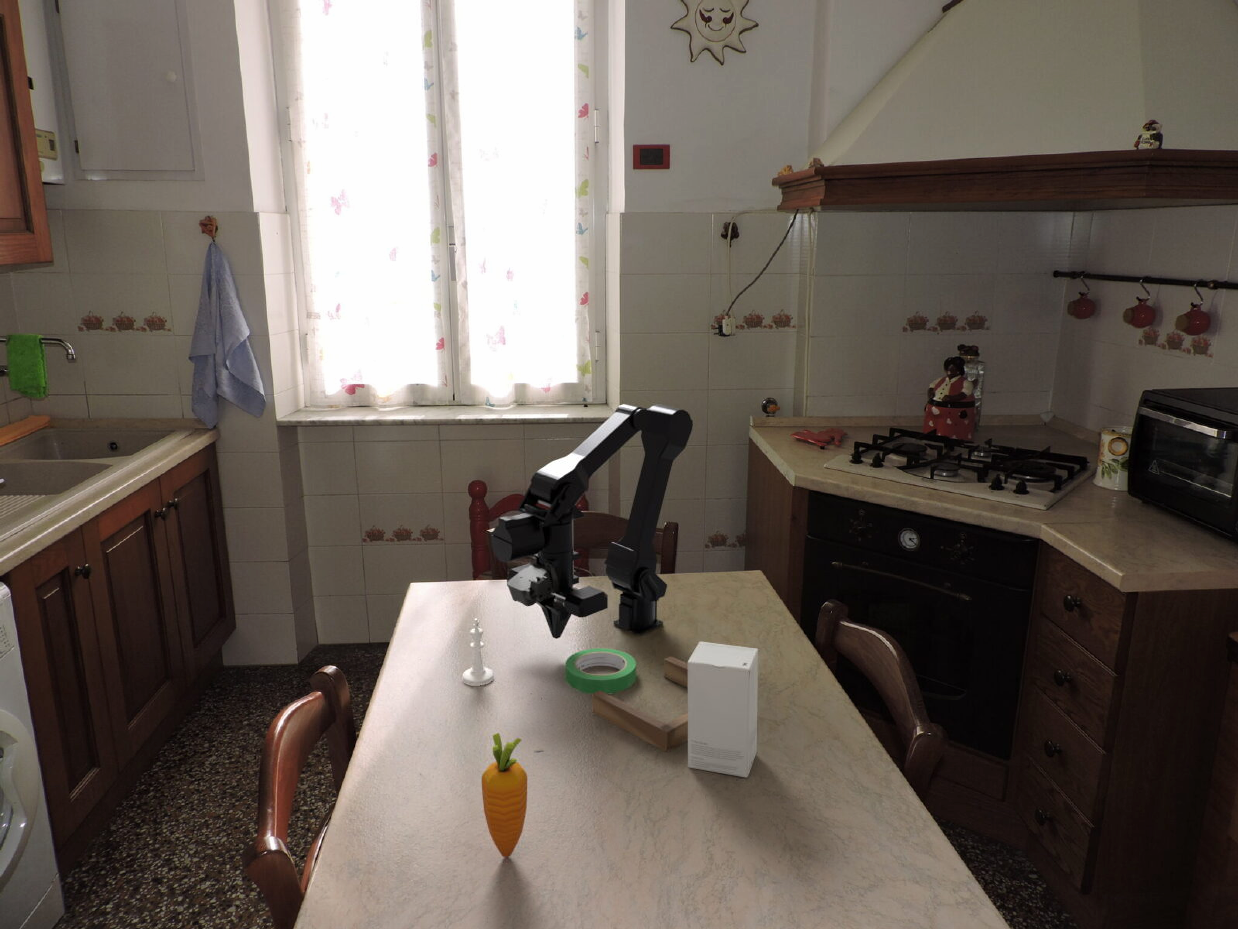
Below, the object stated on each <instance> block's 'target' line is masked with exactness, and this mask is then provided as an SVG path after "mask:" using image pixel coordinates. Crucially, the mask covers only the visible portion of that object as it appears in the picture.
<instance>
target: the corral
mask: <svg viewBox="0 0 1238 929" xmlns="http://www.w3.org/2000/svg"><path fill="white" fill-rule="evenodd" d="M663 677H664V678H666V679H668V680H670V681H671V682H675V683H676V684H678V685H681V686H683V687H685V688H687V689H688V662H684V661H682V660H680V659H678V658H675V657H673V656H668V657H667V658H664V660H663ZM591 695H592V696H591V700H592V701H591V703H592V704H591V705H592V710H591V712H592V714H594V715H596V716H598V717H600V718H602V719H604V720H605V721H607V722H609V723H611V724H613V725H614V726H616V727H619V728H621V729H622V730H624V731H626V732H628V733H629V734H632V735H634V736H635V737H637V738H639V739H641V740H643V741H645V742H647V743H649V744H651V745H653V746H654V747H656V748H658V749H659V750H662V751H664V752H665V753H668V752H671V750H673V749H674V748H676V747H678V746H680V745H681V744H683V743H685V742H688V711H687V712H685V713H683V714H682V715H680V716H678V717H676V718H675V719H674V718H673V720H670V721H669V722H667V723H665V722H663V721H661V720H660V719H657V718H655V716H654V717H653V716H651V715H650V714H647V713H646V712H644V711H642V710H639V709H638V708H635V707H633V706H632V705H630V704H628V703H626V702H624V701H622V700H620V699H618V698H616V697H614V696H612V695H611V694H606V693H604V692H602V691H600V690H599V691H597V692H595V693H593V694H591Z"/></svg>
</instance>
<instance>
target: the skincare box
mask: <svg viewBox="0 0 1238 929" xmlns="http://www.w3.org/2000/svg"><path fill="white" fill-rule="evenodd" d="M687 664H688V688H687V712H688V740H687V767H688V768H690V769H696V770H701V771H708V772H713V773H718V774H724V775H730V776H735V777H741V778H748V777H749V775H750V771H751V769H752V766H753V763H754V761H755V758H756V754H757V740H758V739H757V738H758V737H757V736H758V690H759V689H758V687H759V686H758V683H759V682H758V680H759V675H758V674H759V648H756V647H755V648H753V647H747V646H739V645H731V644H722V643H715V642H708V641H699V642H698V644H697V646H696V647H695V649H694V650H693V652H692V654H691V655H690V657H689V659H688V661H687Z"/></svg>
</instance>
